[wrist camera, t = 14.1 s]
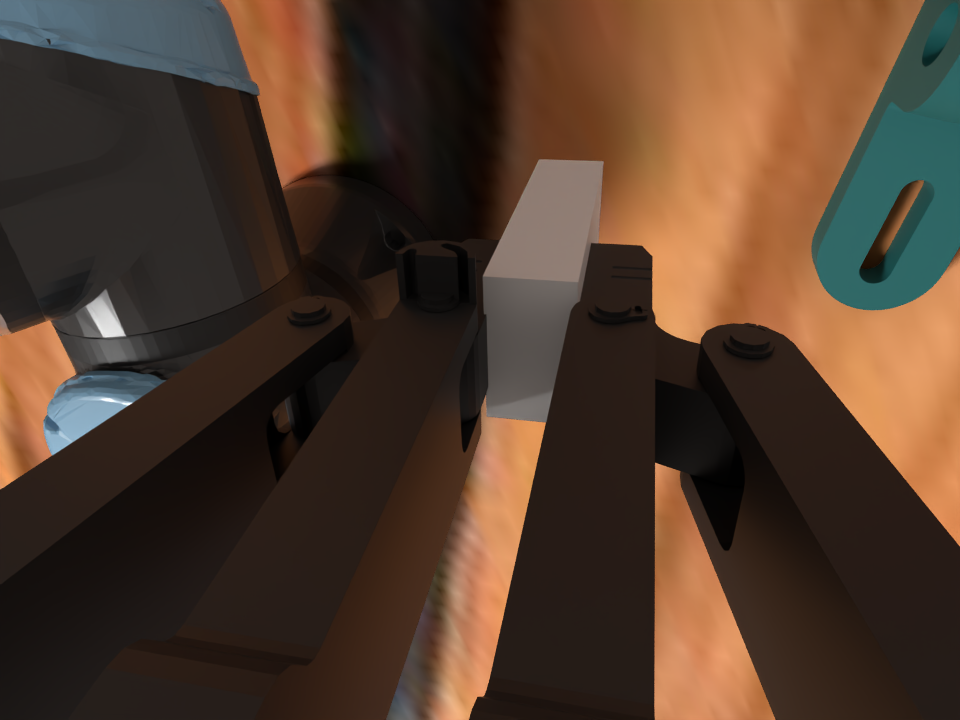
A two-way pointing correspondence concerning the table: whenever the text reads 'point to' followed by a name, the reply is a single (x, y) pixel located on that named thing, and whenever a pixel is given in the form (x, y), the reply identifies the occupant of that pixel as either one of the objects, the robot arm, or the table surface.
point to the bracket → (901, 175)
